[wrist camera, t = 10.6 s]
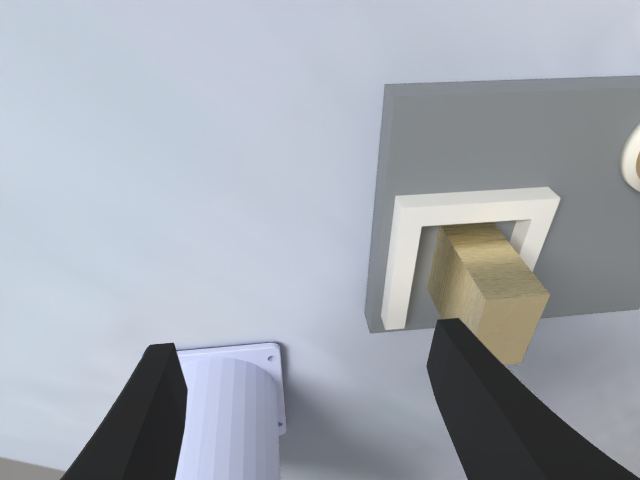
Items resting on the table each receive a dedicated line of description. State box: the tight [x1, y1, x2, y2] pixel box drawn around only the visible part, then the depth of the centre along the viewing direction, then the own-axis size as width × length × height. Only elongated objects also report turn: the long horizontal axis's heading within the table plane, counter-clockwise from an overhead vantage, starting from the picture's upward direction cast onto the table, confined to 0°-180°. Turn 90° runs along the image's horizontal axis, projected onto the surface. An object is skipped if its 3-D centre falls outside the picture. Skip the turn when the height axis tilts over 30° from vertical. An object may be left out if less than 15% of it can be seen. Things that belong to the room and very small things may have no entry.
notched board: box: [365, 76, 640, 333], centre depth 21 cm, size 13×16×2 cm
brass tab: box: [427, 222, 550, 365], centre depth 19 cm, size 4×2×5 cm, turn 0°
